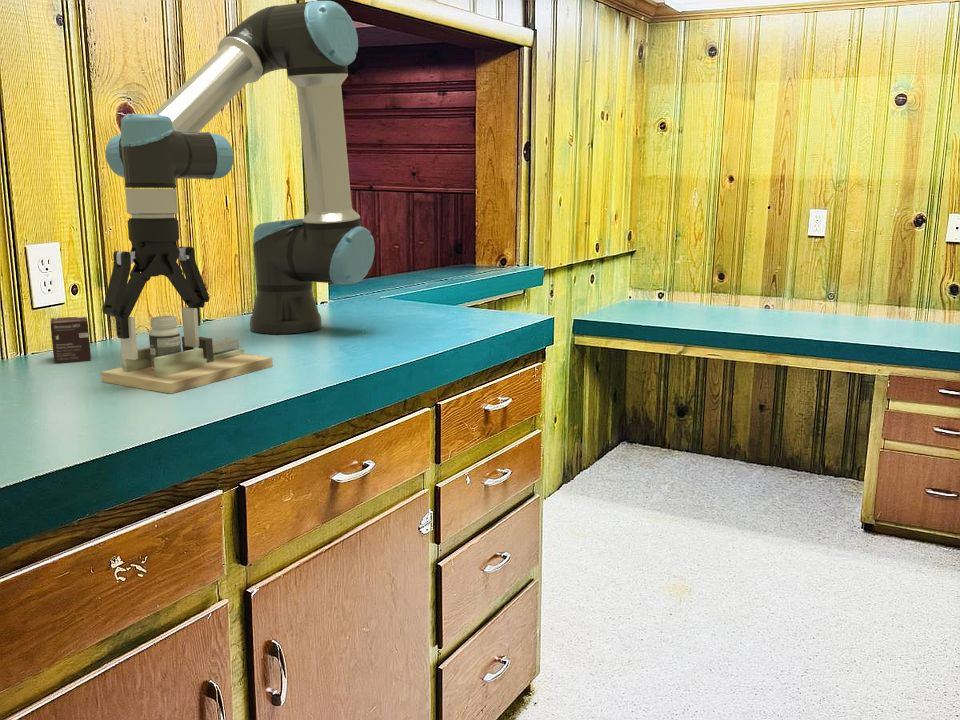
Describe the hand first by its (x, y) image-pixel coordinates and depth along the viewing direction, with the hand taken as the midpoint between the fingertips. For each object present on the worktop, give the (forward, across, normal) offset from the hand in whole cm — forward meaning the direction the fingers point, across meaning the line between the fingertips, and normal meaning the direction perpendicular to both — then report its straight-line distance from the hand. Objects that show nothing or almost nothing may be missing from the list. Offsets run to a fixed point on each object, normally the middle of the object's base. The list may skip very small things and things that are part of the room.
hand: (162, 352), depth 139 cm
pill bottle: (+3, -1, 0) cm, 3 cm away
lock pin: (+2, -12, 0) cm, 12 cm away
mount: (+4, -5, +1) cm, 6 cm away
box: (+5, -3, -27) cm, 28 cm away
